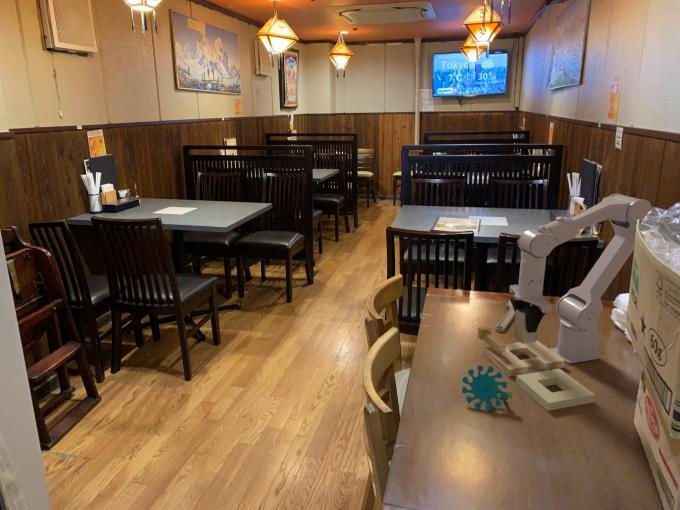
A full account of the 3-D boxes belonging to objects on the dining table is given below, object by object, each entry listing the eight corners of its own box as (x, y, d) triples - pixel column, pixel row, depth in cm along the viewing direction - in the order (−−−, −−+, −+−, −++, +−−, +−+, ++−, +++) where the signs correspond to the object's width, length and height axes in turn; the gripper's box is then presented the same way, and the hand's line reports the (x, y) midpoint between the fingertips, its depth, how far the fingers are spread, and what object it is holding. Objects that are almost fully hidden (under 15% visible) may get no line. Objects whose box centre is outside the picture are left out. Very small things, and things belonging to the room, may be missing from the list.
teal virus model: (454, 398, 112) (470, 357, 116) (456, 404, 117) (471, 365, 121) (504, 418, 108) (518, 375, 111) (504, 423, 113) (518, 382, 116)
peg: (526, 335, 132) (529, 307, 130) (536, 341, 128) (539, 312, 126) (513, 337, 131) (515, 308, 129) (522, 343, 127) (525, 314, 125)
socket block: (535, 346, 139) (536, 339, 139) (564, 367, 128) (565, 360, 127) (483, 354, 135) (483, 347, 135) (508, 376, 124) (509, 369, 124)
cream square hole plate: (558, 375, 124) (559, 368, 124) (593, 402, 113) (594, 394, 113) (515, 382, 121) (516, 375, 121) (547, 410, 110) (548, 403, 110)
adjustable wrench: (502, 334, 148) (503, 329, 147) (481, 329, 151) (482, 323, 151) (530, 307, 166) (531, 302, 166) (511, 302, 170) (511, 298, 170)
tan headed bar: (487, 335, 138) (488, 326, 137) (507, 351, 129) (508, 341, 129) (477, 337, 138) (478, 327, 137) (496, 353, 129) (497, 342, 128)
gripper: (501, 270, 131) (497, 318, 135) (535, 289, 117) (529, 342, 121) (524, 268, 132) (520, 315, 136) (561, 286, 119) (555, 338, 123)
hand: (526, 328), depth 129 cm, fingers closed on peg, 4 cm apart
